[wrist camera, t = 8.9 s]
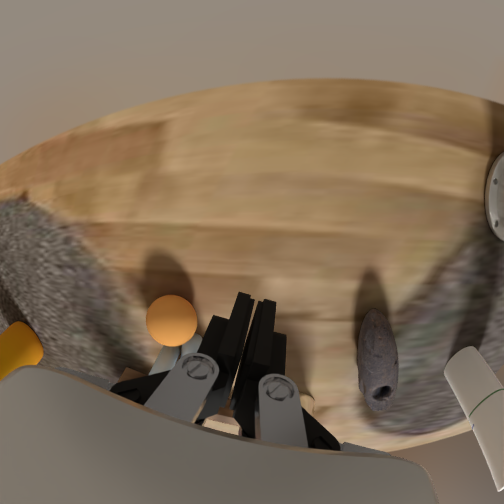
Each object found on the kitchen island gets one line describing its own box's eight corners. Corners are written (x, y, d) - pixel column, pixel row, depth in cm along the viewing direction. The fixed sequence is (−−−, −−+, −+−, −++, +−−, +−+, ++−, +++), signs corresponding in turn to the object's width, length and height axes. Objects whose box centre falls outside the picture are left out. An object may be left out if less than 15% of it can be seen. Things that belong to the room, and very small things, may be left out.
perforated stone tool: (349, 302, 32) (364, 338, 25) (390, 293, 31) (411, 325, 25) (354, 384, 37) (362, 420, 30) (386, 376, 36) (399, 410, 30)
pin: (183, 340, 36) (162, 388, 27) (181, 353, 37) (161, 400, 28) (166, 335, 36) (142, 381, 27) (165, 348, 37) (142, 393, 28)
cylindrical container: (444, 384, 36) (493, 496, 13) (443, 360, 34) (504, 484, 11) (476, 365, 35) (533, 467, 11) (477, 339, 33) (548, 449, 9)
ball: (182, 355, 33) (211, 318, 34) (167, 359, 27) (201, 315, 28) (148, 324, 34) (175, 288, 35) (127, 322, 28) (159, 280, 29)
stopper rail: (247, 403, 39) (245, 420, 36) (244, 410, 40) (242, 427, 37) (126, 367, 39) (117, 381, 36) (126, 374, 40) (118, 389, 37)
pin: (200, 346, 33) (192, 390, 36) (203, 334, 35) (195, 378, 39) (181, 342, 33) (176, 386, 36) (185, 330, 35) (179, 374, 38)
